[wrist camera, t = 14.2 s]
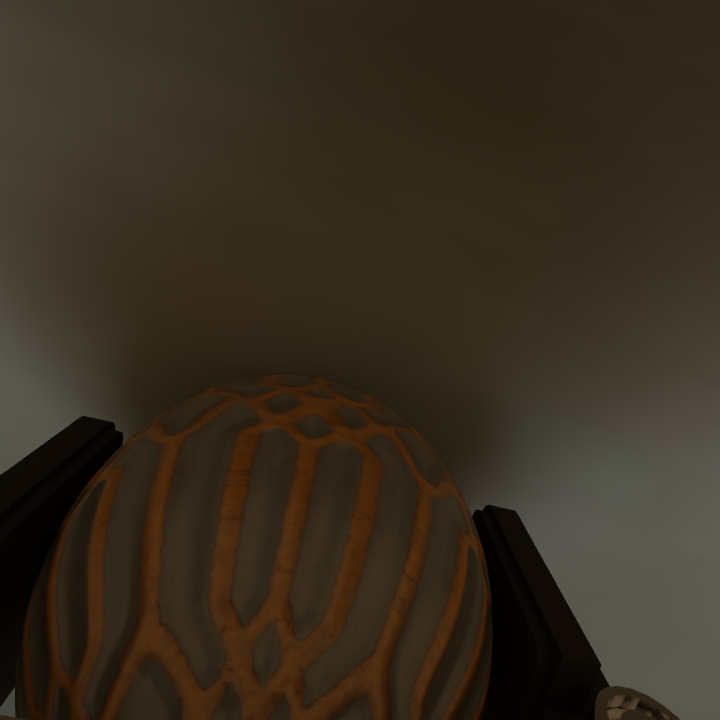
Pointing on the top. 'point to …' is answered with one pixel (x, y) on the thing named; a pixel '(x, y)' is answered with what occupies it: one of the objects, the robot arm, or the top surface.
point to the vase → (263, 571)
